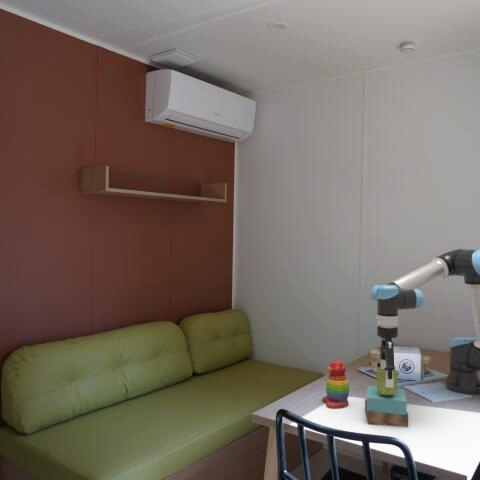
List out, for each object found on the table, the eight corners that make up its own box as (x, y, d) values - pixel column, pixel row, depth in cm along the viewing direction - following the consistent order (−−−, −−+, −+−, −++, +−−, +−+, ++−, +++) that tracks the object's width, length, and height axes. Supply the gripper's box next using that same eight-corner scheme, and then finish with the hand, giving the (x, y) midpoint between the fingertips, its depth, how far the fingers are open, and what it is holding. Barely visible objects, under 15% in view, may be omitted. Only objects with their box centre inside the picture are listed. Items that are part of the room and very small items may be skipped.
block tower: (369, 368, 260) (426, 375, 244) (368, 352, 260) (426, 358, 244) (373, 364, 267) (430, 371, 251) (373, 349, 267) (430, 355, 251)
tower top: (404, 402, 193) (404, 389, 193) (406, 415, 179) (406, 401, 179) (367, 398, 197) (367, 386, 196) (366, 410, 183) (366, 397, 183)
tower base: (401, 414, 194) (401, 401, 194) (408, 428, 180) (408, 414, 180) (365, 411, 196) (365, 399, 196) (368, 425, 182) (368, 412, 182)
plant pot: (400, 393, 188) (400, 370, 189) (399, 396, 179) (399, 372, 181) (375, 391, 191) (375, 368, 192) (373, 394, 182) (373, 370, 184)
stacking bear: (321, 399, 208) (321, 357, 208) (344, 399, 209) (345, 357, 208) (327, 409, 197) (328, 364, 197) (352, 408, 198) (353, 364, 198)
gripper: (373, 319, 201) (372, 371, 201) (381, 332, 176) (381, 391, 176) (392, 320, 200) (391, 372, 200) (403, 333, 175) (402, 392, 175)
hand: (386, 381), depth 188 cm, fingers open, 13 cm apart
